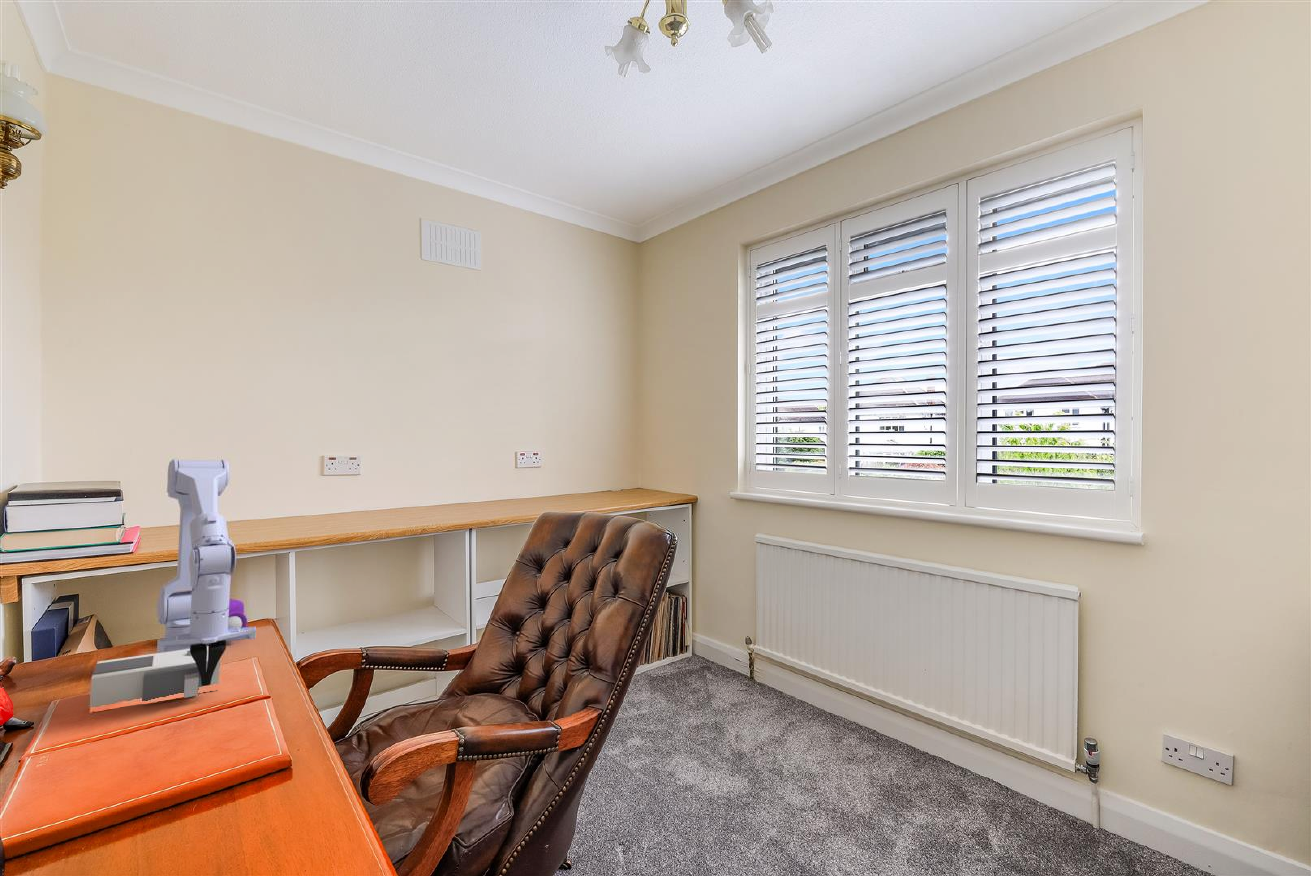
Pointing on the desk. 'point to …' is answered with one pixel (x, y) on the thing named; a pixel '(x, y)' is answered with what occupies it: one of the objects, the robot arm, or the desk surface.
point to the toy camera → (236, 614)
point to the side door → (171, 683)
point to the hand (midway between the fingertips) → (205, 683)
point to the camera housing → (135, 675)
